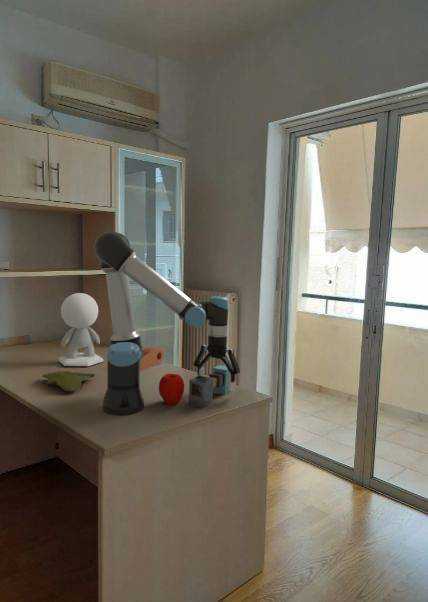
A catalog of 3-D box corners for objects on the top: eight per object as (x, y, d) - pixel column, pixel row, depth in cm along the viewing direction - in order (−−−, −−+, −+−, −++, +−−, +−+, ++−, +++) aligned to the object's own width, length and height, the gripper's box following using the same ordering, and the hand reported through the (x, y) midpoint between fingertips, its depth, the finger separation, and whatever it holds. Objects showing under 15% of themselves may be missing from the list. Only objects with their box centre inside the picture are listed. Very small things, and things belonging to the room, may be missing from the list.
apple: (152, 403, 171) (153, 372, 169) (172, 397, 178) (172, 368, 177) (170, 410, 164) (170, 378, 163) (189, 404, 171) (190, 373, 170)
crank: (151, 360, 236) (151, 345, 235) (163, 362, 233) (163, 347, 232) (126, 368, 219) (126, 352, 218) (139, 371, 215) (139, 355, 214)
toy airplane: (110, 386, 190) (110, 375, 189) (61, 397, 175) (61, 385, 174) (80, 372, 210) (80, 361, 209) (33, 380, 195) (33, 369, 194)
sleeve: (203, 409, 166) (204, 382, 165) (188, 406, 169) (189, 379, 168) (212, 404, 172) (213, 378, 171) (198, 401, 175) (198, 375, 174)
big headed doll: (92, 354, 244) (92, 290, 240) (107, 364, 225) (107, 295, 221) (55, 358, 233) (54, 291, 229) (67, 368, 214) (66, 296, 210)
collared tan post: (208, 394, 170) (208, 381, 170) (197, 391, 172) (197, 379, 172) (227, 383, 184) (227, 372, 183) (217, 381, 186) (217, 370, 186)
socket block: (225, 396, 182) (226, 370, 180) (212, 393, 185) (213, 367, 183) (231, 392, 187) (232, 367, 185) (218, 390, 189) (219, 364, 188)
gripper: (250, 337, 175) (247, 389, 178) (195, 330, 187) (194, 378, 190) (241, 340, 169) (239, 395, 171) (186, 332, 181) (184, 383, 183)
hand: (215, 386), depth 181 cm, fingers open, 13 cm apart
